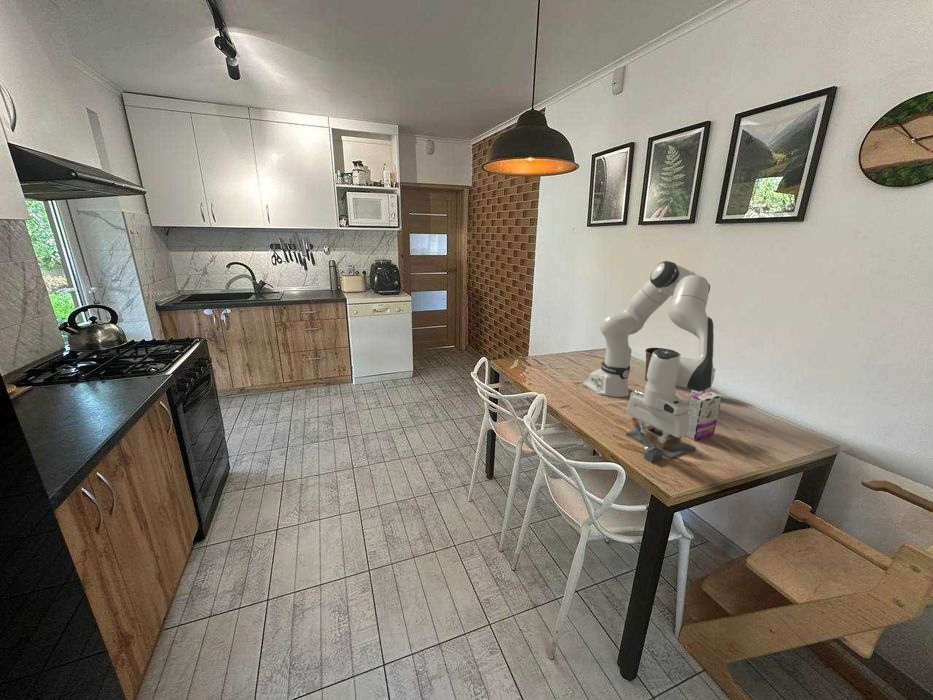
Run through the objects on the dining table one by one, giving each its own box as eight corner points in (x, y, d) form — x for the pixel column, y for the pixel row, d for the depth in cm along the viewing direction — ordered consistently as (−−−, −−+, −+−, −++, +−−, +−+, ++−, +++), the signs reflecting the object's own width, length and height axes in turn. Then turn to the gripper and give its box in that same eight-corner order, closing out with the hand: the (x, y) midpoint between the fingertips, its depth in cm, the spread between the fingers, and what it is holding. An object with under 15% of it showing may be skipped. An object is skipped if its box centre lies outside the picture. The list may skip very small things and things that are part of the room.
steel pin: (650, 438, 135) (655, 408, 131) (658, 435, 136) (663, 406, 133) (660, 443, 131) (666, 413, 127) (668, 441, 133) (674, 411, 129)
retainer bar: (644, 446, 124) (629, 419, 128) (649, 445, 125) (635, 418, 129) (647, 445, 123) (632, 418, 127) (652, 444, 124) (637, 416, 128)
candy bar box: (701, 429, 143) (710, 390, 139) (713, 435, 139) (723, 395, 134) (681, 434, 139) (690, 395, 134) (694, 441, 135) (703, 400, 130)
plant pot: (674, 389, 181) (680, 358, 177) (639, 383, 189) (644, 353, 184) (675, 379, 195) (680, 350, 190) (642, 373, 203) (646, 345, 198)
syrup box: (690, 394, 176) (696, 366, 172) (697, 392, 179) (703, 364, 174) (702, 398, 171) (708, 369, 167) (709, 396, 174) (716, 367, 170)
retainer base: (641, 457, 124) (643, 447, 123) (651, 453, 126) (653, 443, 125) (651, 463, 121) (653, 453, 120) (661, 459, 123) (663, 449, 122)
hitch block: (625, 434, 139) (627, 424, 137) (650, 426, 145) (652, 417, 143) (669, 459, 123) (671, 448, 122) (695, 449, 129) (697, 439, 128)
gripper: (625, 389, 126) (620, 426, 130) (682, 412, 109) (674, 453, 112) (637, 387, 129) (632, 422, 132) (695, 408, 111) (687, 449, 115)
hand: (652, 437), depth 122 cm, fingers open, 5 cm apart
